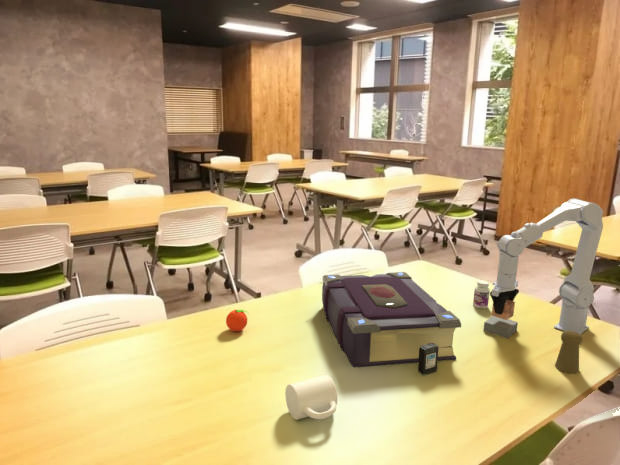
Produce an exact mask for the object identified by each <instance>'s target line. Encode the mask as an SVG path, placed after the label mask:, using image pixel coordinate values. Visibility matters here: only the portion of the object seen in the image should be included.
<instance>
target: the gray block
mask: <svg viewBox="0 0 620 465" xmlns="http://www.w3.org/2000/svg"><path fill="white" fill-rule="evenodd" d="M483 323H484V324H483V332H484V333H485V332H486V333H488V334H493V335H495V336H498V337H502V338H504V339H509V338H510V337H511V336H512V335H514V334H515V333H516V332H517V331H518V324H519V322H518V321H515V320H512V319H510V318H509V319H507V320H504V319H501V318H498V317H495V316H492V315H491V316H490V318H488V319H486V320H485V321H484V322H483Z"/></svg>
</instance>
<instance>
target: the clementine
mask: <svg viewBox="0 0 620 465" xmlns="http://www.w3.org/2000/svg"><path fill="white" fill-rule="evenodd" d="M246 313H248V311H246V310H245V309H244V310H243V309H234V310H232V311H229V313H228V314H227V316H226V319H225V323H226V326H227V328H228V329H229V330H231V331H232V332H241V331H242V330H244V329H245V328H246V327H247V324H248V316H247V314H246Z"/></svg>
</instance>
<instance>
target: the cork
mask: <svg viewBox="0 0 620 465" xmlns="http://www.w3.org/2000/svg"><path fill="white" fill-rule="evenodd" d="M560 339H561V345H560V349H559V352H558V353H557V354H558V355H557V358H556V361H555V364H554V366H555V369H557V370H558V371H560V372H562V373H566V374H569V375H570V374H571V375H572V374H573V375H574V374H575V375H577V374H579V372H580V346H581V345H582V343H583V336H582V334H579V333H577V332H575V331H563V332H562V333H561V335H560Z"/></svg>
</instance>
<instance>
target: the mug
mask: <svg viewBox="0 0 620 465" xmlns="http://www.w3.org/2000/svg"><path fill="white" fill-rule="evenodd" d="M284 392H285V394H284V395H285V402H286V407H287V409H288V412H289V414H290V416H291V417H292V419H294V420H298V421H299V420H301V419H304V418H311V419H315V420H323V419H327V418H329V417H331V416H332V415H334V413H335V412H336V411H337V405H338V392H337V388H336V385H335V383H334V381H333V379H332V378H331V377H330V376H329V375H327V374H324V375H319V376H317V377H316V376H315V377H312V378H309V379H308V378H307V379H304V380H300V381H297V382H294V383H289V384H287V385H286V387H285V391H284Z"/></svg>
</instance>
